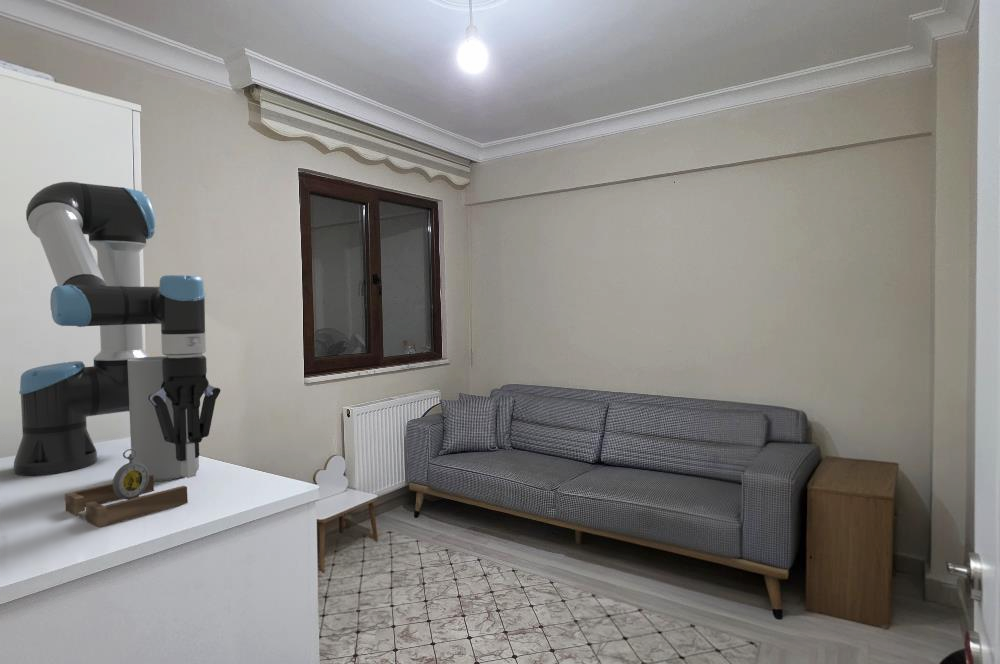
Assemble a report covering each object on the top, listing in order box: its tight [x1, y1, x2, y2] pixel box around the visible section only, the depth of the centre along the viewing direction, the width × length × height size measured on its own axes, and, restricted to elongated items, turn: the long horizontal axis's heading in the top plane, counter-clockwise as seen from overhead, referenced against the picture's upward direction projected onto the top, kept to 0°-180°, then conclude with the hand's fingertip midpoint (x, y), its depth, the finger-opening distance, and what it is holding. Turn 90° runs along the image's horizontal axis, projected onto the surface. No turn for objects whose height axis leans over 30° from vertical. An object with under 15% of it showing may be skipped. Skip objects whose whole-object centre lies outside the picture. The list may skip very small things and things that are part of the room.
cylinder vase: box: [127, 355, 200, 482], centre depth 126 cm, size 12×12×25 cm
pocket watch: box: [112, 448, 149, 500], centre depth 106 cm, size 8×8×10 cm
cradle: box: [64, 474, 189, 528], centre depth 105 cm, size 14×14×3 cm
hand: (188, 475), depth 114 cm, fingers closed
